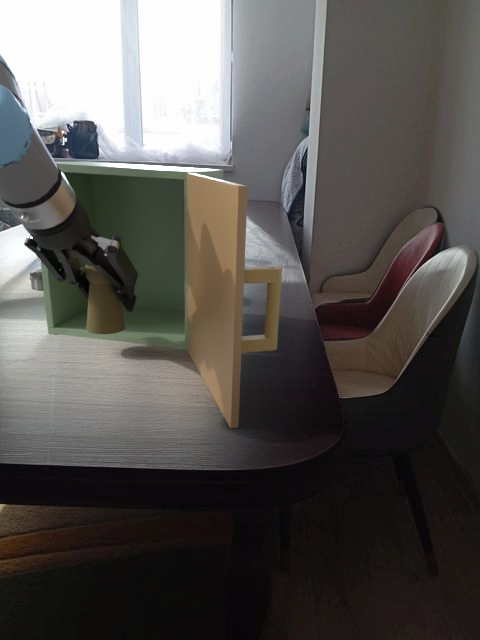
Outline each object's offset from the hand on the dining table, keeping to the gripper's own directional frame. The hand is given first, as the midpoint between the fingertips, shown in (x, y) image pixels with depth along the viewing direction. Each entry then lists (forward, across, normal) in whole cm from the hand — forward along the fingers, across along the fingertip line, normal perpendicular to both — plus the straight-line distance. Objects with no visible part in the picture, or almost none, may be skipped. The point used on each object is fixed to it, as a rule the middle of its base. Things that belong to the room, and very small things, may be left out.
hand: (115, 302), depth 85 cm
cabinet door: (-2, +22, -12) cm, 25 cm away
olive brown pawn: (0, 0, -5) cm, 5 cm away
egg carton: (+27, -30, +17) cm, 44 cm away
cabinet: (+12, 0, +2) cm, 12 cm away
